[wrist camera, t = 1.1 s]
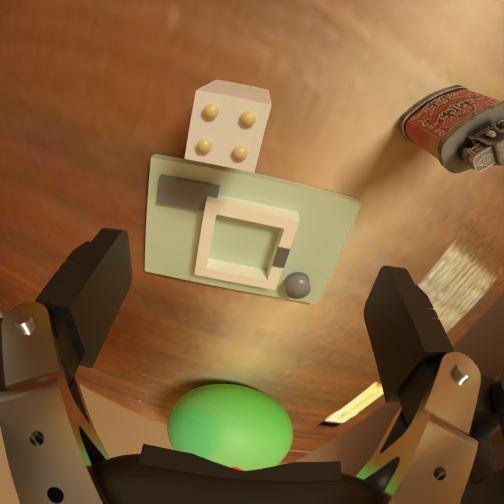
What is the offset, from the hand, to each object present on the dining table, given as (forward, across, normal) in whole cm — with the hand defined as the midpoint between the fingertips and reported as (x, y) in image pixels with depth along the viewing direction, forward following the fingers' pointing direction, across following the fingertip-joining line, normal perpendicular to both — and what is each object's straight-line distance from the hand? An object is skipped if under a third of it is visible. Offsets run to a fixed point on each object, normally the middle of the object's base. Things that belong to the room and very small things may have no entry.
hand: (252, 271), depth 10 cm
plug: (+17, +2, -2) cm, 17 cm away
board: (+18, 0, +9) cm, 20 cm away
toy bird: (+19, -1, +38) cm, 42 cm away
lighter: (+18, -14, -6) cm, 23 cm away
